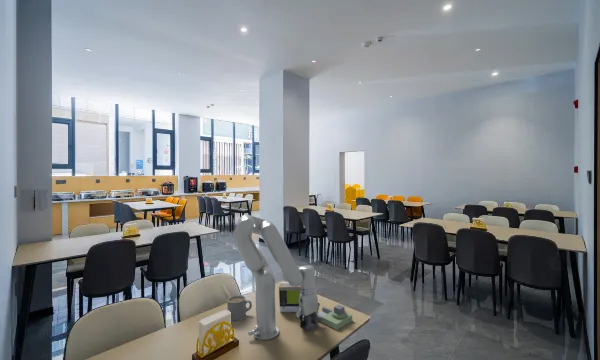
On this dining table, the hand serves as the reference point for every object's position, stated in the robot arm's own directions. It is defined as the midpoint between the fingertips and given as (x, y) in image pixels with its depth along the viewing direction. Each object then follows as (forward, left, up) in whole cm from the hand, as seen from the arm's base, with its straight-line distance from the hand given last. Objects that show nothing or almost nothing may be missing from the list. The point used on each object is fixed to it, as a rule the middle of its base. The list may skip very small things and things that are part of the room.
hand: (308, 323), depth 145 cm
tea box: (+8, +21, -2) cm, 23 cm away
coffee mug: (-19, +36, -2) cm, 41 cm away
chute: (0, 0, -2) cm, 2 cm away
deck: (+14, -3, -1) cm, 14 cm away
